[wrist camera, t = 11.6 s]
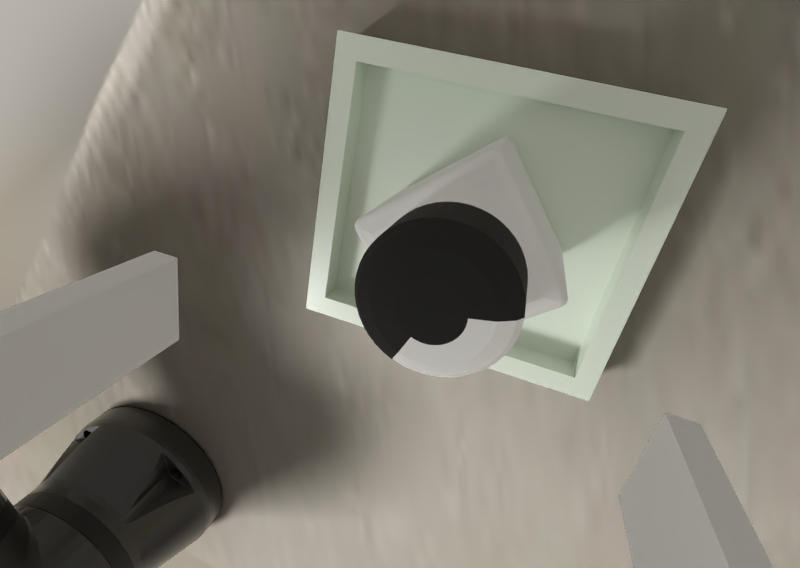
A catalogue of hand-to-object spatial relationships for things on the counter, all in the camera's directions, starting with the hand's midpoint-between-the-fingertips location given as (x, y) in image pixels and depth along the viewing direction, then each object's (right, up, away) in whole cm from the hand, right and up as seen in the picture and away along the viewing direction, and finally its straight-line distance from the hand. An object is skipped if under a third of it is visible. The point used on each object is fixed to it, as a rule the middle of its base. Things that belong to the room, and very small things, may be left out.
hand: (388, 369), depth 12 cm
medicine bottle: (+5, +6, +14) cm, 16 cm away
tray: (+5, +6, +14) cm, 16 cm away
